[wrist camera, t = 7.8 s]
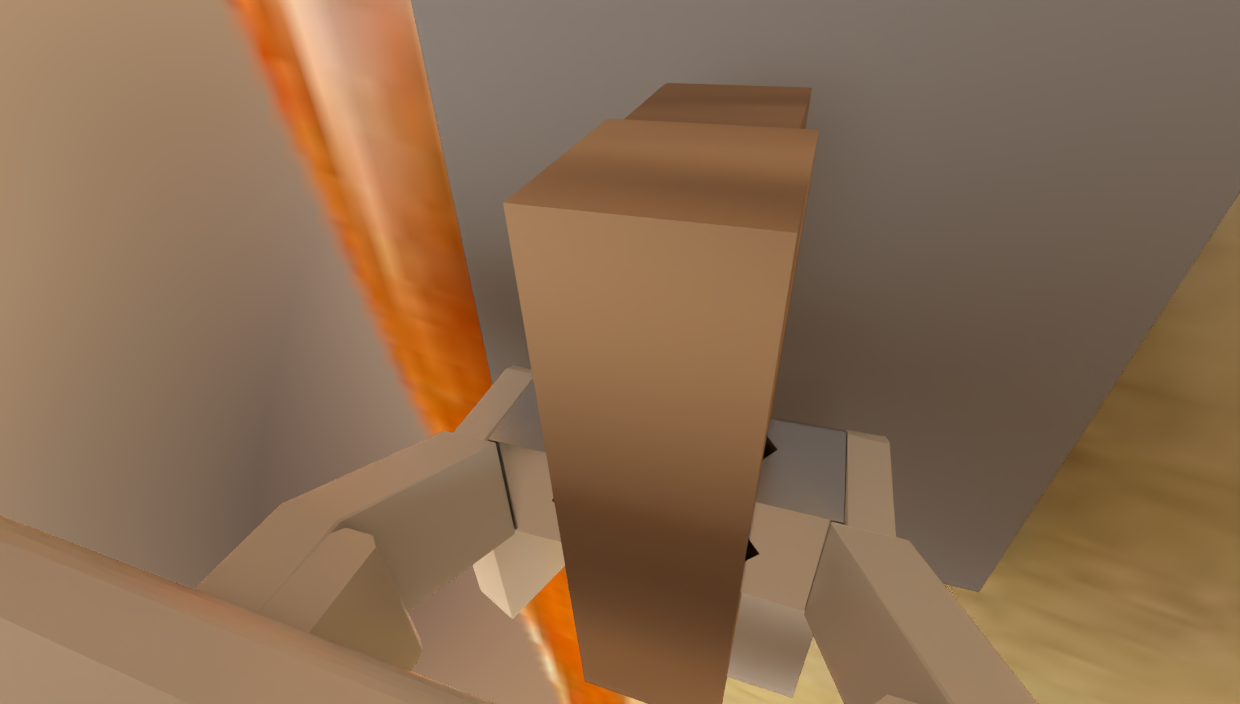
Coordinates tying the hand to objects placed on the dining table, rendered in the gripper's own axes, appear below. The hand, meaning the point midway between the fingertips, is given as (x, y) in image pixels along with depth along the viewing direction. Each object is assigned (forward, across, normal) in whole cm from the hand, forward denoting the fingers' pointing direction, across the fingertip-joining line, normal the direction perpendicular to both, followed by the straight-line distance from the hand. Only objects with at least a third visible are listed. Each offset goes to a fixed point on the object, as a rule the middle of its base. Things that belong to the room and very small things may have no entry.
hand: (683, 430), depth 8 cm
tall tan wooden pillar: (+3, 0, +4) cm, 4 cm away
